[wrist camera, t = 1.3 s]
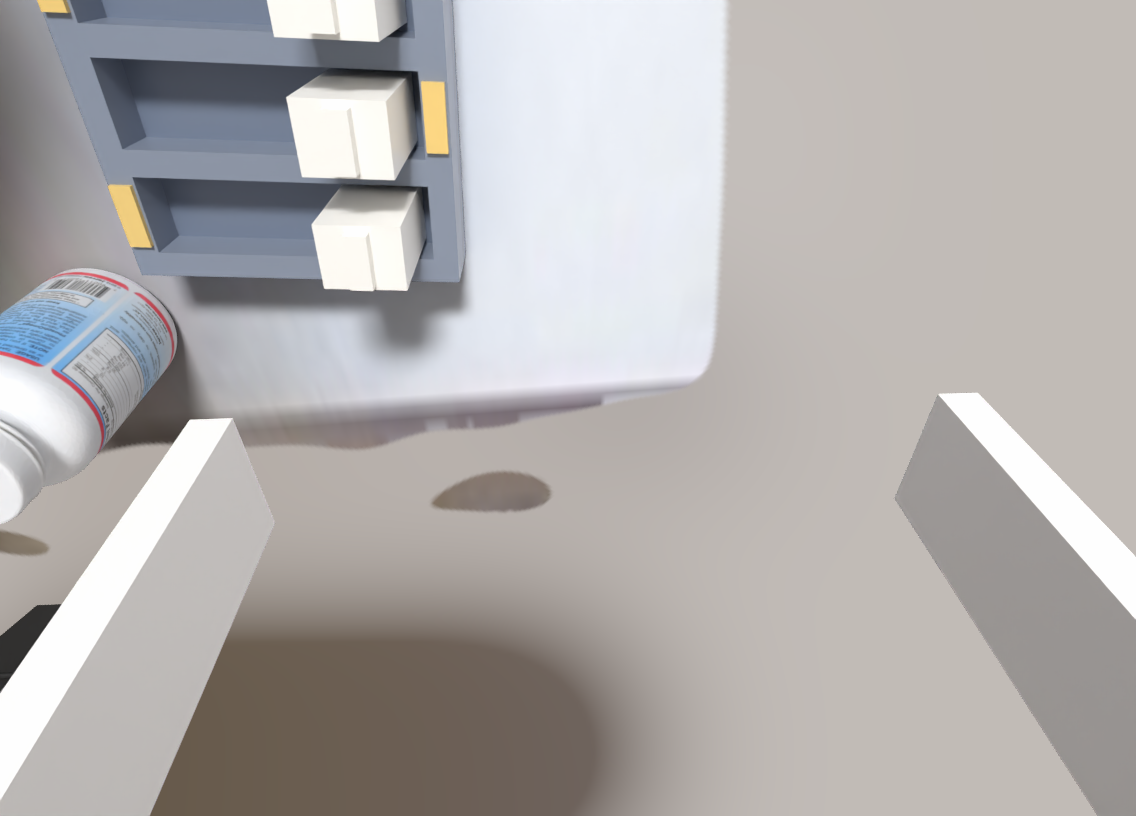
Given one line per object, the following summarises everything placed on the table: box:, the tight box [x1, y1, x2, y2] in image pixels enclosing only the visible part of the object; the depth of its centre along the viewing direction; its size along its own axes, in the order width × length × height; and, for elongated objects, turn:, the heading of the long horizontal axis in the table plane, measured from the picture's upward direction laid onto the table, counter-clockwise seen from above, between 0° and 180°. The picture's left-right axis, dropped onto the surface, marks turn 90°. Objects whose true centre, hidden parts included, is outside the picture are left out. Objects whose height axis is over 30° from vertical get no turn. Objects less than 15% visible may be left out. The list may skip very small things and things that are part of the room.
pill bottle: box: [0, 268, 177, 524], centre depth 26 cm, size 6×6×11 cm
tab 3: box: [312, 184, 426, 291], centre depth 25 cm, size 3×2×6 cm
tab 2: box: [286, 69, 418, 180], centre depth 22 cm, size 3×2×6 cm
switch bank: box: [37, 0, 466, 282], centre depth 24 cm, size 13×13×3 cm
